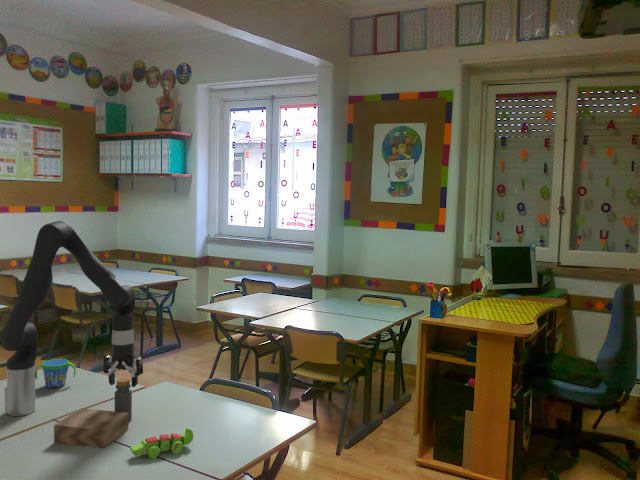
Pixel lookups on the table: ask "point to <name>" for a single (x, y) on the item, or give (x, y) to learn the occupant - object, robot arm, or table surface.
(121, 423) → the wooden box
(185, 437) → the toy crocodile
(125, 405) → the bottle
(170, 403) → the table surface
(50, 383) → the snack cup
